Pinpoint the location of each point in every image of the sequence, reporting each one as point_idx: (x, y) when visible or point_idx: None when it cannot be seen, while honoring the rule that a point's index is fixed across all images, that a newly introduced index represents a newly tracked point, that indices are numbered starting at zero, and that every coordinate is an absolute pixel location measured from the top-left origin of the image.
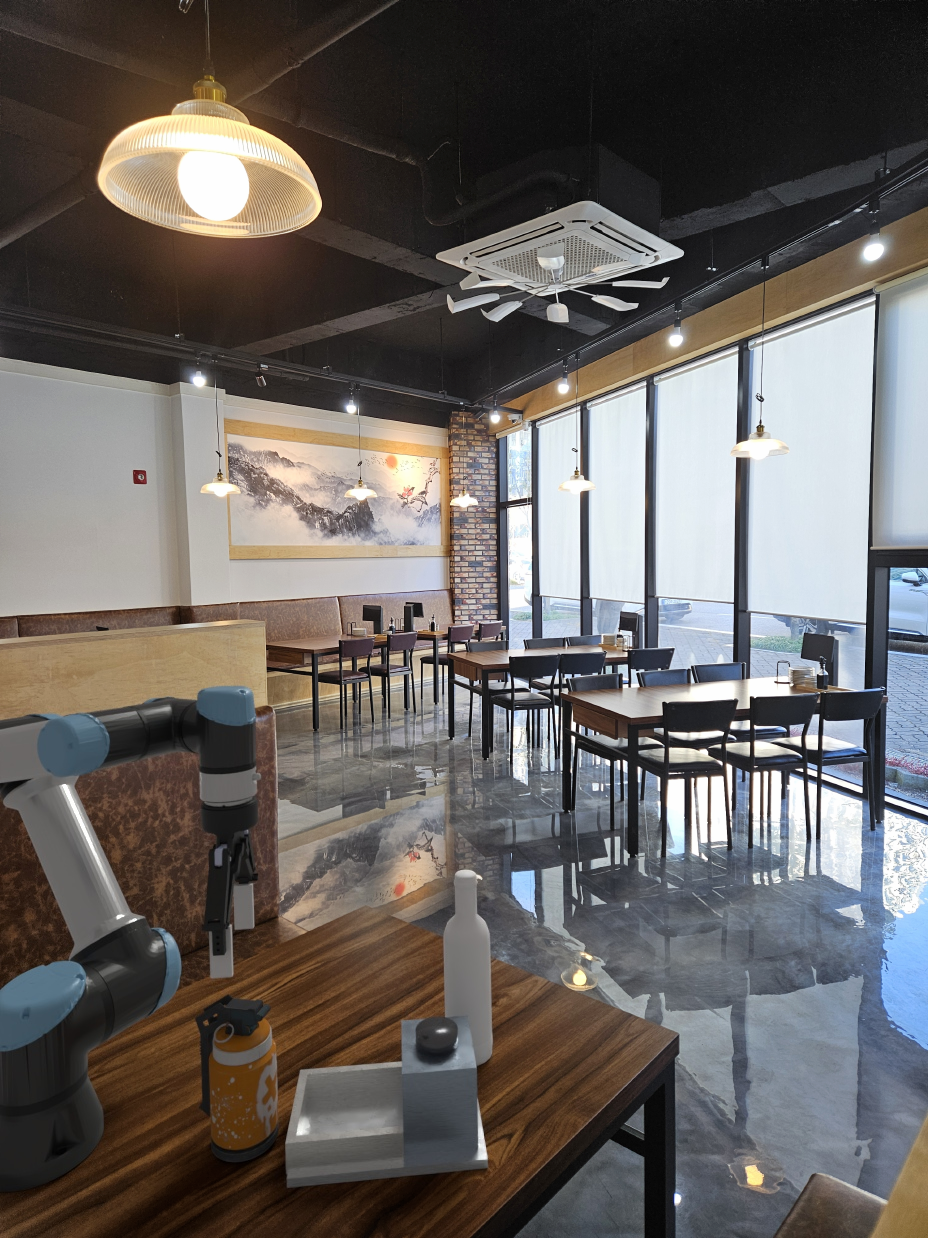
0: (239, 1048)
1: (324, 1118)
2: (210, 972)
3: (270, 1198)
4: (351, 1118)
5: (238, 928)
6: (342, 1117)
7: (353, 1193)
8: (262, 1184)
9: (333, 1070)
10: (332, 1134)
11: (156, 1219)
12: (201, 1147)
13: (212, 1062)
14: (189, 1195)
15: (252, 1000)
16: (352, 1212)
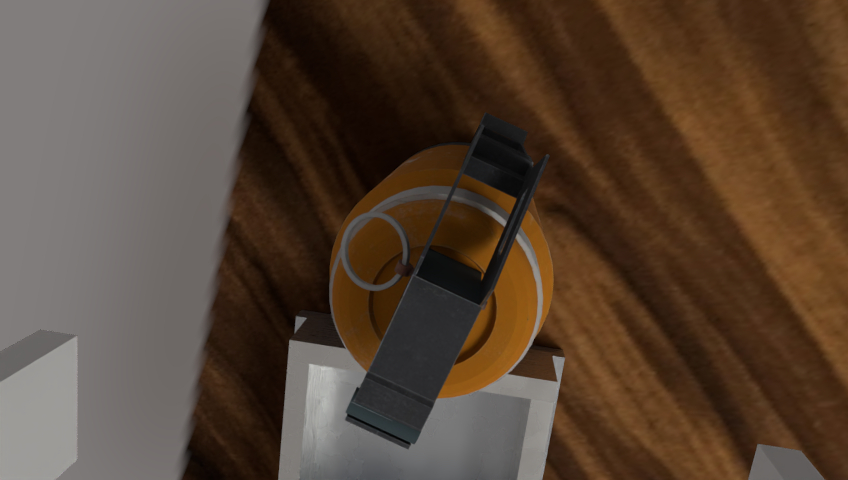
0: (333, 298)
1: (454, 401)
2: (8, 347)
3: (283, 277)
4: (438, 457)
5: (752, 478)
6: (448, 438)
7: (264, 429)
8: (323, 260)
9: (527, 464)
10: (295, 441)
11: (276, 47)
12: (466, 115)
13: (394, 186)
14: (326, 109)
15: (439, 389)
16: (222, 423)
